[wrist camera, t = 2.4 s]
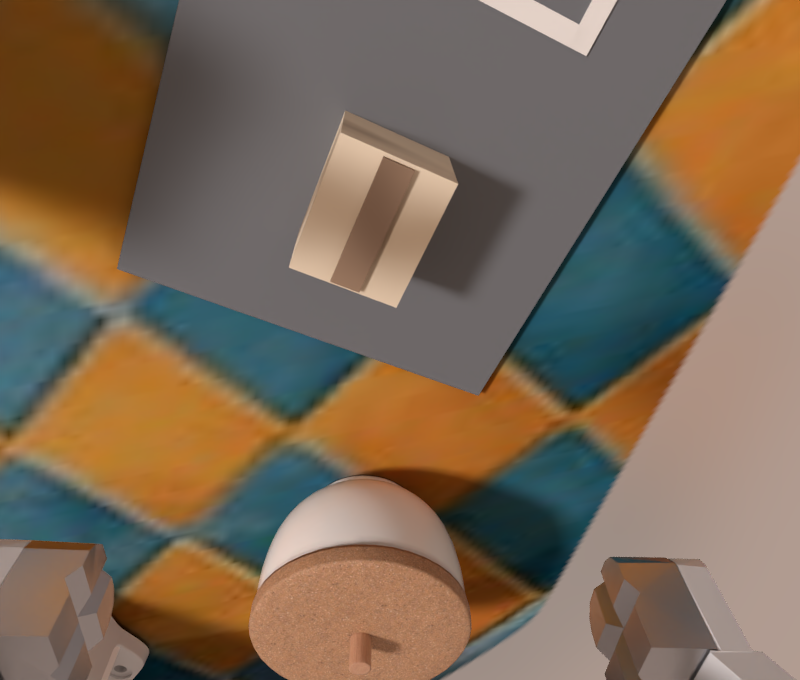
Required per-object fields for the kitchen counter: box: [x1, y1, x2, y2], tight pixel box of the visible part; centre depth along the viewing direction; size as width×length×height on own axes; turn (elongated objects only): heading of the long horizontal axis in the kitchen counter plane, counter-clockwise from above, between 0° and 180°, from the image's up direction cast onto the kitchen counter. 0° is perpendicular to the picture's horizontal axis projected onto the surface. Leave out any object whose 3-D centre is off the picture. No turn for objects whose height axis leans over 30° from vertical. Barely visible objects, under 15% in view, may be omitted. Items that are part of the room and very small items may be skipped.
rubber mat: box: [117, 0, 726, 395], centre depth 23 cm, size 27×18×1 cm, turn 156°
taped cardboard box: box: [289, 111, 458, 308], centre depth 25 cm, size 6×4×4 cm
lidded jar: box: [249, 475, 471, 680], centre depth 33 cm, size 11×11×9 cm
